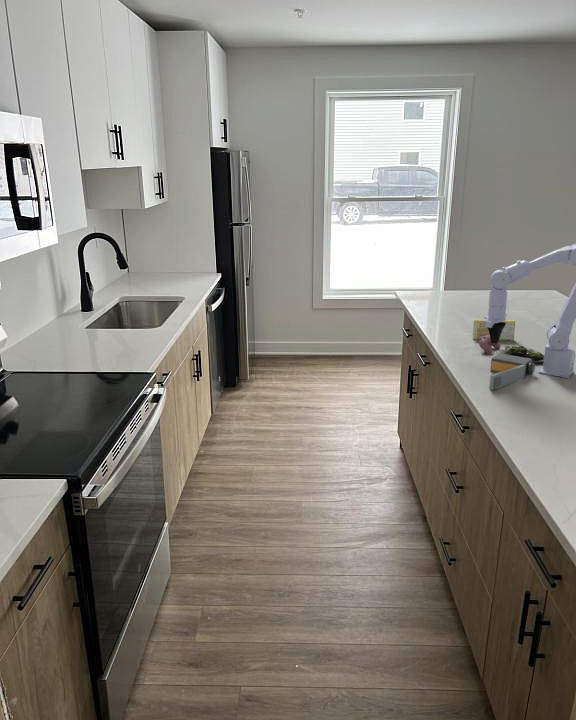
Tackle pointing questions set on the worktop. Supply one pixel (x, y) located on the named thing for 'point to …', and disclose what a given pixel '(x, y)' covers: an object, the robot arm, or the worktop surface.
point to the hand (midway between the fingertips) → (494, 342)
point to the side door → (507, 377)
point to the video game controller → (487, 344)
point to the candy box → (481, 331)
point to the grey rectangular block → (511, 363)
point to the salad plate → (524, 353)
